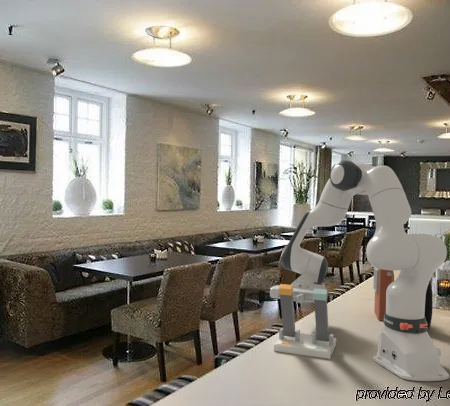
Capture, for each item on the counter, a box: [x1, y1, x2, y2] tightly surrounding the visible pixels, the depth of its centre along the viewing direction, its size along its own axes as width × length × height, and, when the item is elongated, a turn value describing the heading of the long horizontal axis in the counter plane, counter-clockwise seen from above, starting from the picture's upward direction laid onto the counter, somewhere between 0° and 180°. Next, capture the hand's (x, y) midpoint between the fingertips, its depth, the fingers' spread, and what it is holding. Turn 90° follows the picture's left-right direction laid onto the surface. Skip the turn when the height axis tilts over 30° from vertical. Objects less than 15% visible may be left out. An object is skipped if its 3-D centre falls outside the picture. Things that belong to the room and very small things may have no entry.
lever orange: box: [279, 283, 296, 337], centre depth 148 cm, size 2×4×20 cm, turn 69°
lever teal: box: [313, 288, 330, 342], centre depth 144 cm, size 2×4×20 cm, turn 69°
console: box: [273, 327, 337, 360], centre depth 150 cm, size 15×18×5 cm
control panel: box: [372, 267, 395, 322], centre depth 188 cm, size 21×7×15 cm
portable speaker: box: [424, 278, 434, 332], centre depth 170 cm, size 9×9×20 cm
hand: (293, 298), depth 157 cm, fingers closed
